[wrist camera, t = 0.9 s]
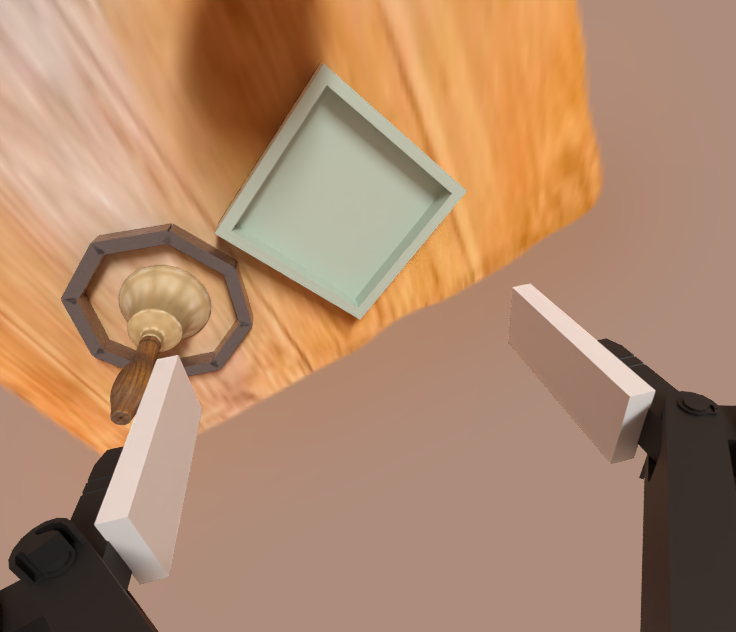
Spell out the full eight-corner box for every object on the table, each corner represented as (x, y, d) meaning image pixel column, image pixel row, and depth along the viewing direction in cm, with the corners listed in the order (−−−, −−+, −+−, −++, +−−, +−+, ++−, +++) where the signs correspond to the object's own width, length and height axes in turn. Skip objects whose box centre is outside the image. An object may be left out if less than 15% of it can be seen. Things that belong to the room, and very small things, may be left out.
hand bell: (218, 275, 42) (192, 377, 28) (204, 345, 45) (174, 465, 32) (123, 255, 39) (44, 356, 25) (116, 331, 42) (43, 455, 29)
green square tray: (218, 222, 39) (214, 233, 36) (320, 63, 34) (323, 63, 32) (355, 305, 46) (360, 319, 44) (454, 183, 41) (466, 191, 39)
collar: (49, 325, 41) (40, 335, 39) (120, 193, 36) (114, 199, 35) (201, 388, 48) (199, 398, 46) (277, 283, 43) (277, 291, 42)
